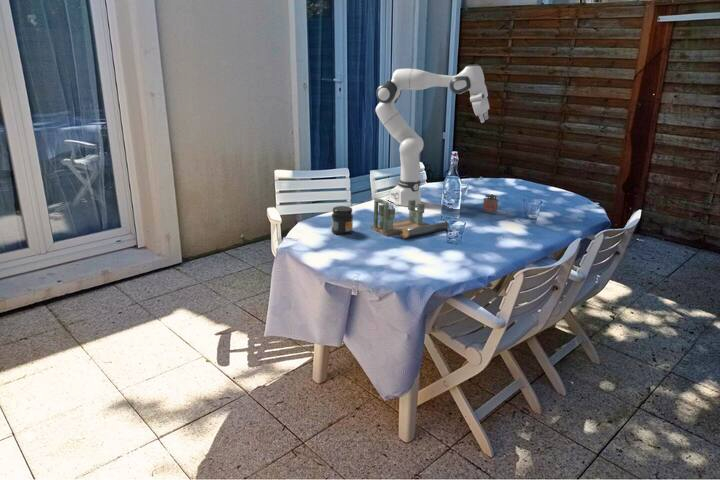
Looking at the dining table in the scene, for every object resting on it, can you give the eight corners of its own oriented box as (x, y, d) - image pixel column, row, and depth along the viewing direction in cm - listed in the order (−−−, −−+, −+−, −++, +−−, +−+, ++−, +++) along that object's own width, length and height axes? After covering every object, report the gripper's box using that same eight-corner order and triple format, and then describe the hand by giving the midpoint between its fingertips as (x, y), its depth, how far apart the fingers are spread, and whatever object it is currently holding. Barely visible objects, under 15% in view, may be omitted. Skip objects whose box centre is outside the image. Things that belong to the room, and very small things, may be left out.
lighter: (496, 211, 314) (498, 194, 311) (497, 212, 311) (499, 195, 308) (482, 210, 315) (484, 193, 311) (482, 212, 312) (484, 194, 308)
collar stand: (370, 229, 278) (372, 197, 272) (413, 220, 293) (415, 190, 287) (386, 236, 267) (388, 203, 262) (430, 227, 283) (432, 196, 277)
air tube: (405, 239, 263) (405, 231, 262) (399, 237, 267) (400, 228, 265) (448, 230, 279) (449, 222, 277) (443, 228, 282) (443, 220, 281)
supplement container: (357, 232, 272) (357, 208, 268) (342, 236, 265) (342, 213, 261) (342, 227, 279) (342, 204, 275) (327, 231, 272) (327, 208, 268)
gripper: (477, 94, 302) (483, 118, 305) (468, 99, 284) (474, 125, 288) (489, 91, 299) (494, 116, 302) (480, 96, 281) (486, 123, 285)
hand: (484, 121), depth 295 cm, fingers open, 8 cm apart
